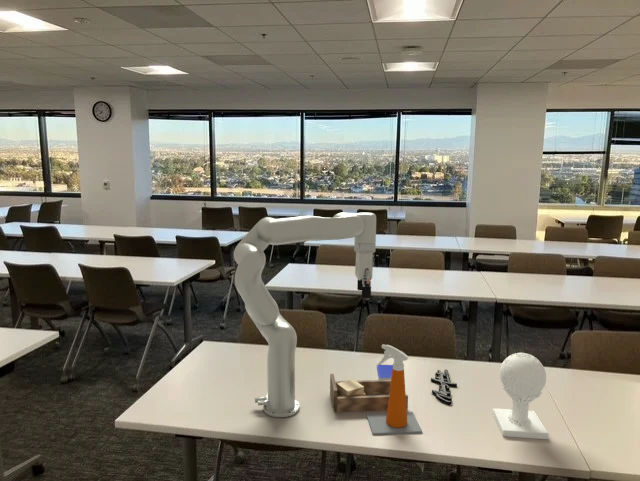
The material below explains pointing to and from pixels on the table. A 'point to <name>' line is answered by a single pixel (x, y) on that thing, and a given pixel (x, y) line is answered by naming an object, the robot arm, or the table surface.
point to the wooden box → (362, 401)
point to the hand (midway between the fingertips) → (363, 293)
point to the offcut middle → (344, 396)
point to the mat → (381, 427)
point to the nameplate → (443, 387)
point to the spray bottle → (396, 388)
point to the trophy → (521, 396)
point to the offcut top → (350, 388)
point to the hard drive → (384, 372)
